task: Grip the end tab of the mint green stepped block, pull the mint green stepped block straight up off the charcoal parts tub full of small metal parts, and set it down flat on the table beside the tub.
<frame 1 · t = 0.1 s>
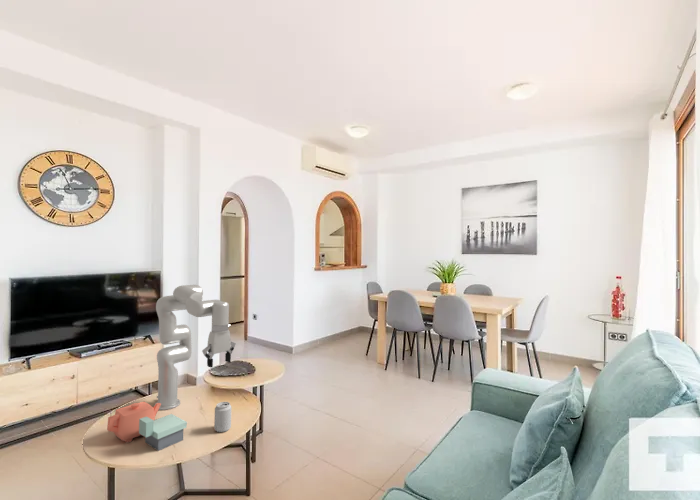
hand: (219, 364, 169), 31 cm above the table, tool pointing down, fingers open, 9 cm apart
can: (222, 429, 170), on the table
teapot: (135, 435, 163), on the table
tub: (164, 441, 158), on the table
mint green stepped block: (164, 425, 158), point 7 cm above the table, touching tub
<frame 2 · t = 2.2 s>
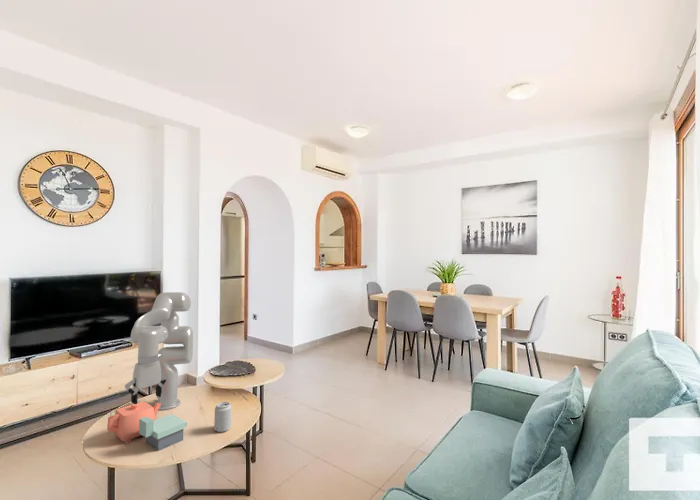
hand: (146, 399, 151), 21 cm above the table, tool pointing down, fingers open, 9 cm apart
nothing on the table moved.
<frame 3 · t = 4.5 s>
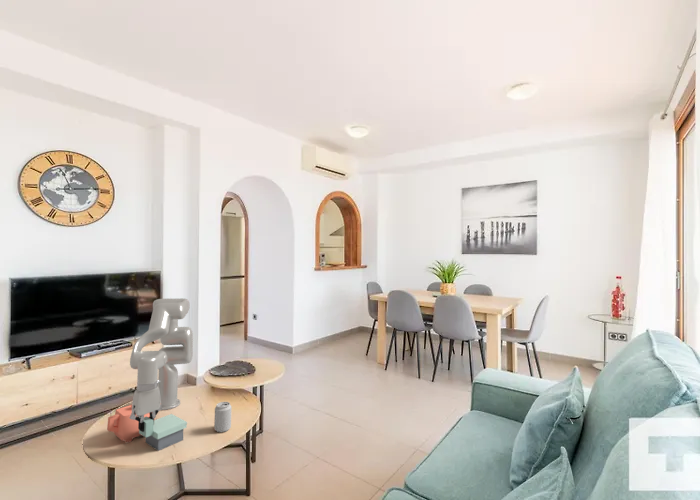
hand: (146, 428, 151), 9 cm above the table, tool pointing down, fingers closed on mint green stepped block, 3 cm apart
mint green stepped block: (164, 425, 158), point 7 cm above the table, touching gripper, tub
everything else where it was.
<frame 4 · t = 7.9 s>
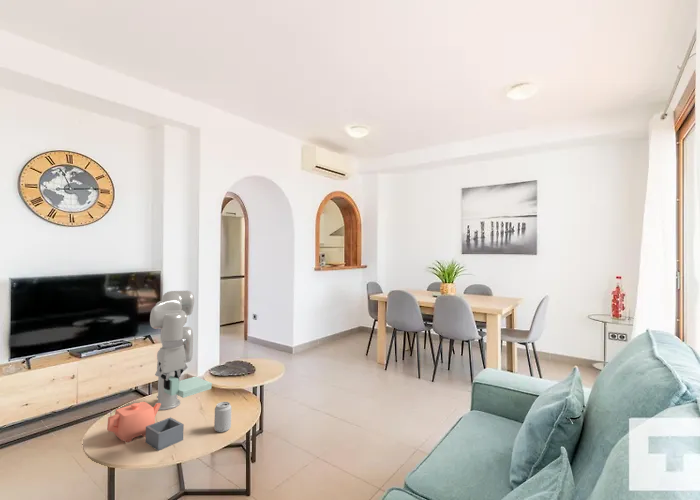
hand: (171, 387, 148), 28 cm above the table, tool pointing down, fingers closed on mint green stepped block, 3 cm apart
mint green stepped block: (189, 386, 154), point 26 cm above the table, touching gripper
everything else where it was.
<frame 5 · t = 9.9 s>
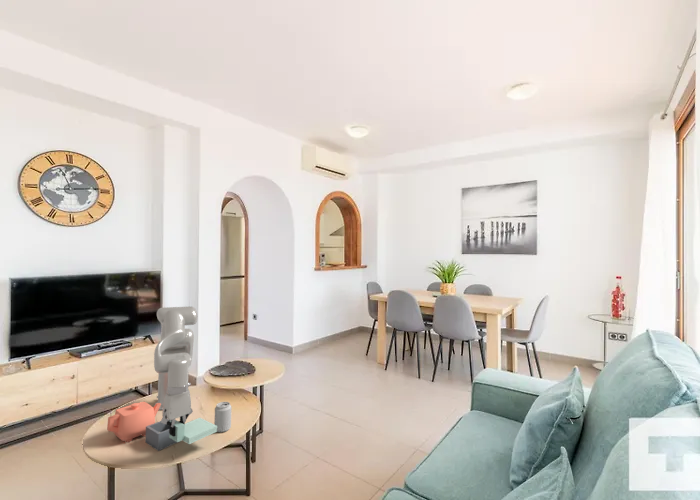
hand: (176, 433, 147), 9 cm above the table, tool pointing down, fingers closed on mint green stepped block, 3 cm apart
mint green stepped block: (194, 429, 153), point 8 cm above the table, touching gripper
everything else where it was.
when the fingers open (4 cm above the table, at t = 11.7 s): mint green stepped block stays where it is, point 1 cm above the table.
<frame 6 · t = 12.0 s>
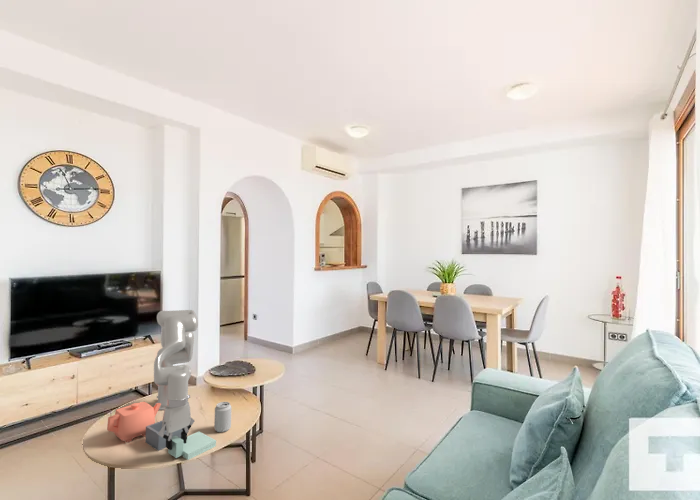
hand: (176, 445, 147), 4 cm above the table, tool pointing down, fingers open, 5 cm apart
mint green stepped block: (193, 444, 153), point 1 cm above the table
everything else where it was.
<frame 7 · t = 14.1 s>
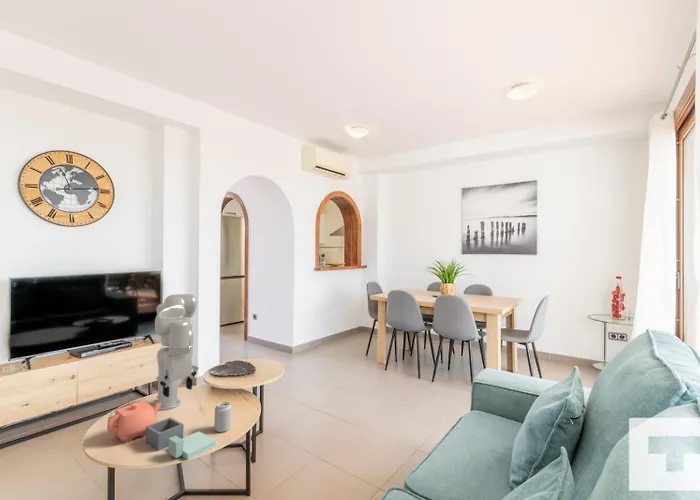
hand: (177, 392, 147), 26 cm above the table, tool pointing down, fingers open, 9 cm apart
nothing on the table moved.
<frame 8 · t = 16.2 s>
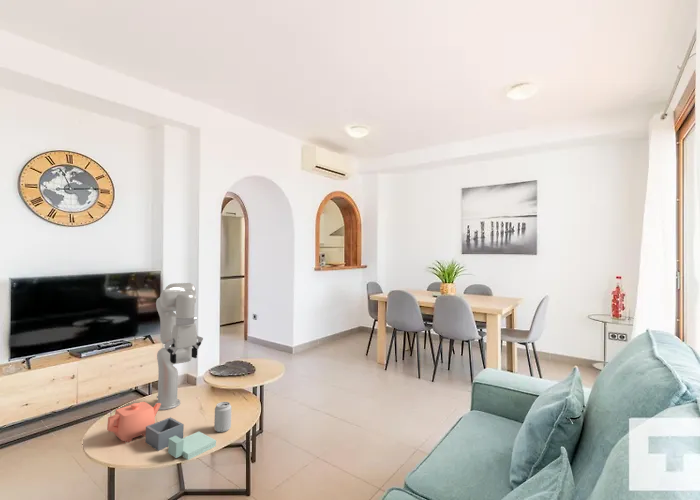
hand: (184, 360, 157), 36 cm above the table, tool pointing down, fingers open, 9 cm apart
nothing on the table moved.
at the end: mint green stepped block inside the target area (0.3 cm from its centre), point 1.5 cm above the table; mint green stepped block touching table; the gripper is holding nothing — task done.
